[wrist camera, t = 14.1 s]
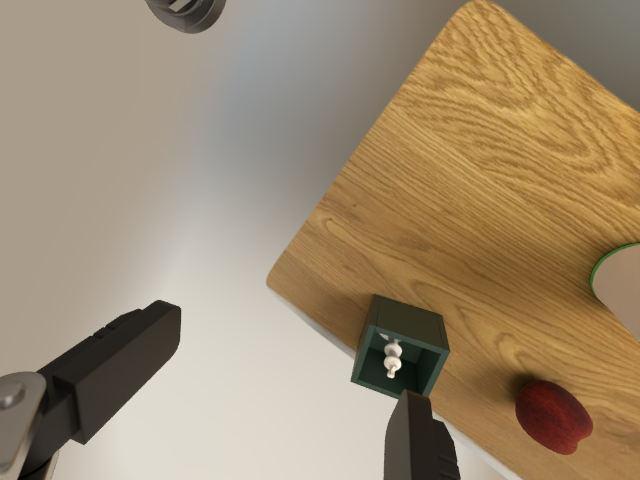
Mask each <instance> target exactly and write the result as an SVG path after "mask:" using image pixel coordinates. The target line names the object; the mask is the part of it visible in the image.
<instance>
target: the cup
mask: <svg viewBox="0 0 640 480" xmlns="http://www.w3.org/2000/svg"><path fill="white" fill-rule="evenodd" d="M590 286H591V289H592V291H593V293H594V295H595V296H596V297H597V298H598V299H599V300H600V301H601V302H602V303H603V304H604V305H606V306H607V307H608V308H609V310H610V311H611V312H612V313H613V314H614V315H615V316H616V317H617V318H618V320H619V321H620V322H621V323H622V324H623V325H624V326H625V327H626V329H627V330H628V331H629V332H630V333H631V334H632V335H633V336H634V337H635V339H636V340H637V341H638V342H639V343H640V243H633V244H629V245H626V246H623V247H620V248H617V249H615V250H613V251H612V252H610V253H608V254H607V255H605V256H604V257H603V258H601V259H600V261H599V262H598V263H597V265H596V266H595V268H594V269H593V271H592V274H591V279H590Z"/></svg>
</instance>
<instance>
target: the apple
mask: <svg viewBox="0 0 640 480" xmlns="http://www.w3.org/2000/svg"><path fill="white" fill-rule="evenodd" d="M515 411H516V416H517V419H518V421H519V423H520V425H521V426H522V428H523V429H524V430H525V431H526V433H527V434H528V435H529V436H531V437H532V438H533V439H534V440H536V441H537V442H538V443H540V444H541V445H543V446H545V447H546V448H548V449H550V450H552V451H554V452H556V453H559V454H563V455H569V454H573V453H574V452H575V451H576V449H577V446H578V445H577V443H578V442H579V441H580V440H582V439H584V438H586V437H588V436H589V435H590V434H591V432H592V430H593V423H592V420H591V418H590V416H589V414H588V413H587V411H586V410H585V408H584V407H583V406H582V404H581V403H580V402H579V401H578V400H577V399H576V398H575V397H574V396H573V395H572V394H570V393H569V392H568V391H567V390H565V389H564V388H562V387H561V386H559V385H557V384H555V383H552V382H549V381H544V380H535V381H531V382H530V383H528V384H526V385H525V384H524V387H523V388H522V389H521V390H520V391H519V393H518V395H517V397H516V408H515Z"/></svg>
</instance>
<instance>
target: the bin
mask: <svg viewBox="0 0 640 480" xmlns="http://www.w3.org/2000/svg"><path fill="white" fill-rule="evenodd" d="M379 333H381V334H384V335H386V336H389V337H392V338H395V339H398V340H401V341H400V342H398V345H399V346H400V347H401V350H402V353H401V355H400V356H399V359H400V361H401V367H400V368H399V369H398V370H396V371H395V376H394V377H393V378H390V377H388V376H387V373H388V371H389V369H387V368H386V367H385V365H384V360H385V358H386V357H387V355H386V353H385V350H384V349H385V346H386V345H387V344H389V340H386V339H385V338H383V337H382V336H381V335H380V334H379ZM449 353H450V348H449V344H448V339H447V335H446V330H445V326H444V321H443V317H442V315H439V314H436V313H433V312H430V311H426V310H423V309H420V308H417V307H414V306H411V305H408V304H404V303H401V302H398V301H395V300H392V299H389V298H386V297H382V296H379V295H376V294H375V295H374V298H373V301H372V304H371V307H370V310H369V313H368V316H367V319H366V322H365V325H364V328H363V332H362V335H361V338H360V341H359V344H358V348H357V353H356V357H355V362H354V367H353V372H352V377H351V382H353V383H356V384H358V385H361V386H364V387H366V388H369V389H372V390H374V391H377V392H380V393H382V394H385V395H388V396H390V397H393V398H396V399H398V400H399V398H400V396H401V394H402V392H403V390H404V389H406V390H409V391H412V392H414V393H417V394H420V395H423V396H426V397H429V394H430V392H431V390H432V388H433V386H434V384H435V382H436V380H437V378H438V376H439V374H440V372H441V370H442V368H443V365H444V363H445V361H446V359H447V357H448V355H449Z"/></svg>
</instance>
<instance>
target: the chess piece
mask: <svg viewBox="0 0 640 480" xmlns="http://www.w3.org/2000/svg"><path fill="white" fill-rule="evenodd" d="M379 334H380V335H381V336H382V337H383V338H385V339H386V340H389V344H387V345H386V346H385V349H384V350H385V353H386V355H387V357H386V358H385V360H384V365H385V367H386V368H387V369H389V371H388V373H387V376H388V377H390V378H393V377H394V376H395V371H396V370H398V369H399V368H400V367H401V361H400V359H399V356H400V355H401V353H402V350H401V347H400V346H399V345H398V342H400V341H401V340H398V339H395V338H392V337H389V336H386V335H384V334H381V333H379Z"/></svg>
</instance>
